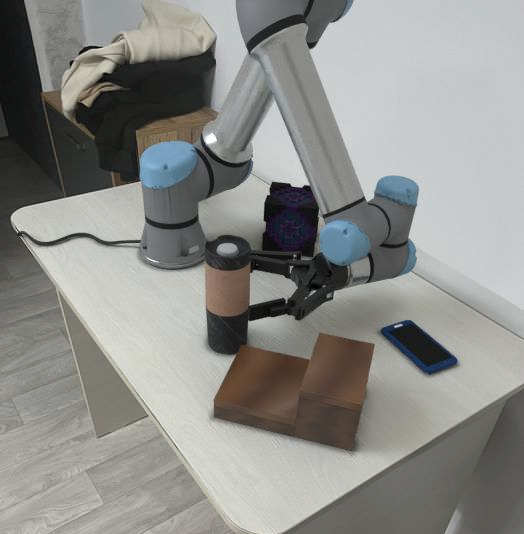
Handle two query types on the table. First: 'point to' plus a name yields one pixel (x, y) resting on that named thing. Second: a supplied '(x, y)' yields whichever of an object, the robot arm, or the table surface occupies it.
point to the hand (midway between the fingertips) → (232, 291)
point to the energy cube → (290, 219)
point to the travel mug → (227, 292)
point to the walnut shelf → (299, 390)
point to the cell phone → (419, 346)
